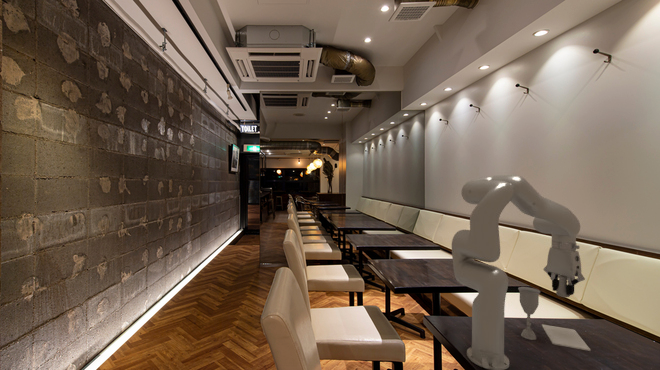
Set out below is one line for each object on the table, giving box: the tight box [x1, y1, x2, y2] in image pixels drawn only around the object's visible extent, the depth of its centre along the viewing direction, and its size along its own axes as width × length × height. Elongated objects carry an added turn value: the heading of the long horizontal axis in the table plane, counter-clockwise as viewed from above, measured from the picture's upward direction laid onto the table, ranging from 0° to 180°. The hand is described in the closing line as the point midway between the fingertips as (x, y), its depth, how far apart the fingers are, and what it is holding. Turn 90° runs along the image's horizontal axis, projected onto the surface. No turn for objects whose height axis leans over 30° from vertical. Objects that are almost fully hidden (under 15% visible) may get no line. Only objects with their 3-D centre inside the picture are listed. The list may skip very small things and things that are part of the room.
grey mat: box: [541, 323, 591, 352], centre depth 115 cm, size 16×11×1 cm
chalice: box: [517, 286, 541, 341], centre depth 115 cm, size 7×7×18 cm
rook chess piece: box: [555, 275, 571, 298], centre depth 117 cm, size 4×4×8 cm
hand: (562, 291), depth 117 cm, fingers closed on rook chess piece, 4 cm apart
